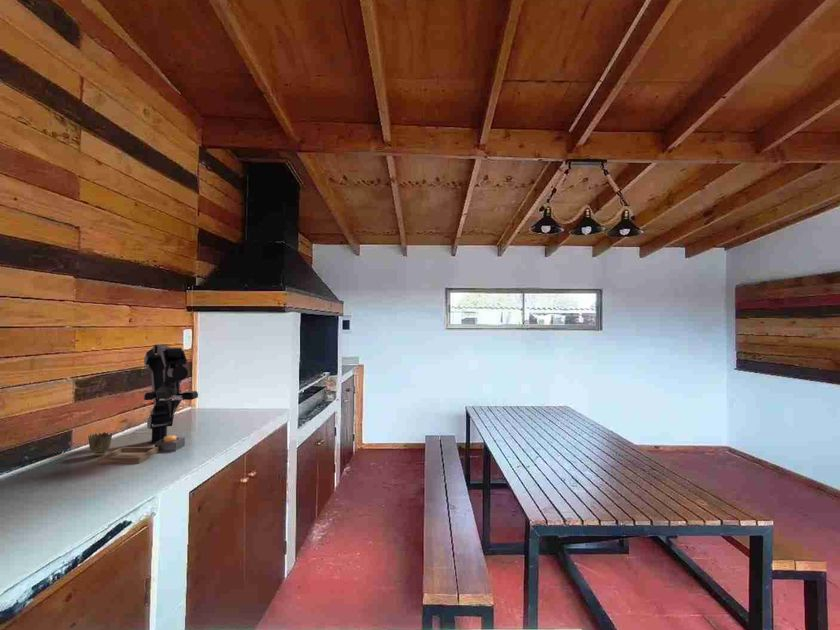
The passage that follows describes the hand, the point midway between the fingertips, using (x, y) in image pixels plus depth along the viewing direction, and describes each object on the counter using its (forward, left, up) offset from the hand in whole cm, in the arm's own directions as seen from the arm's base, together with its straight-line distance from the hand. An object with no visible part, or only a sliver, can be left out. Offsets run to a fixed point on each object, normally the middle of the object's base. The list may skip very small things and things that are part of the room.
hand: (170, 416), depth 175 cm
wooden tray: (+12, -9, -13) cm, 20 cm away
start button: (0, 0, -11) cm, 11 cm away
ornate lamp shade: (+8, -22, -13) cm, 27 cm away
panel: (0, 0, -13) cm, 13 cm away
